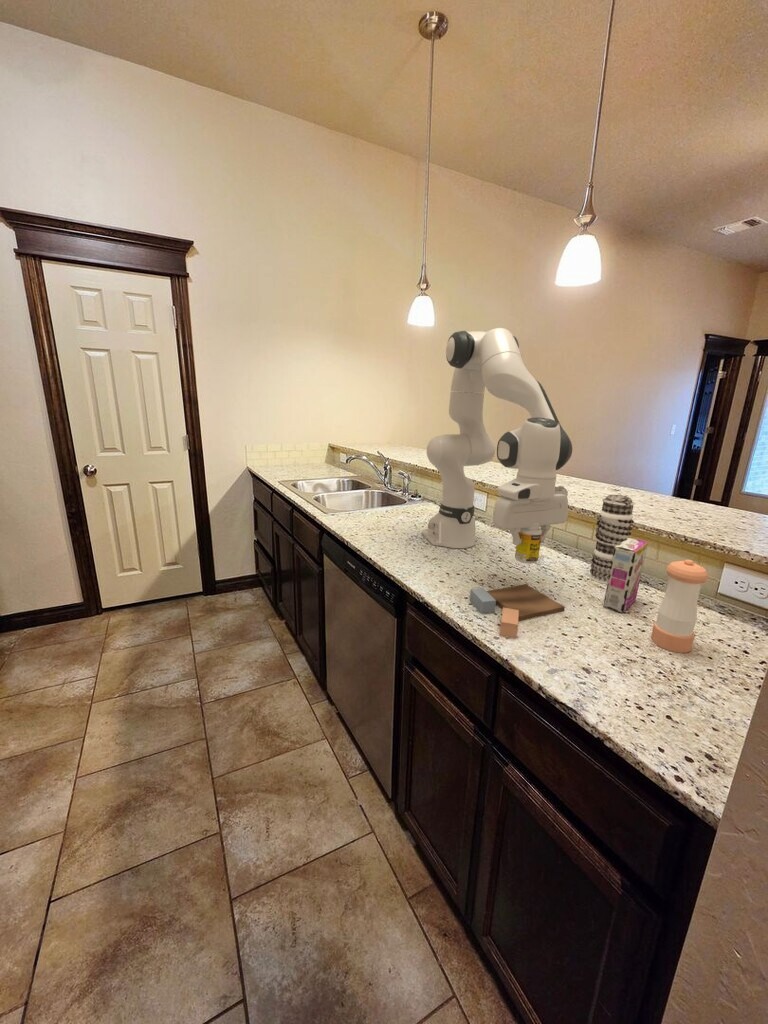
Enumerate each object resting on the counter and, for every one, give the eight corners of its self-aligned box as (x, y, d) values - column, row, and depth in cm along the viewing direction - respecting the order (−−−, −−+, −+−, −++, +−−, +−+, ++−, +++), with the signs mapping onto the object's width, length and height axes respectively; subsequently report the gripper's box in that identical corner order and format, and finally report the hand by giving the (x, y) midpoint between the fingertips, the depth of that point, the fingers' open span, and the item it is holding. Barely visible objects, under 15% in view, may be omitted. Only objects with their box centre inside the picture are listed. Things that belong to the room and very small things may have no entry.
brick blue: (469, 601, 106) (470, 589, 105) (482, 600, 107) (483, 588, 106) (481, 614, 99) (482, 601, 99) (494, 613, 100) (496, 600, 99)
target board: (483, 595, 109) (483, 591, 109) (525, 587, 114) (525, 583, 114) (518, 621, 97) (519, 616, 96) (564, 611, 102) (564, 606, 101)
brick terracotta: (501, 620, 97) (503, 607, 96) (517, 623, 96) (518, 610, 95) (499, 636, 90) (501, 621, 90) (516, 639, 89) (518, 624, 88)
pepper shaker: (683, 657, 84) (704, 569, 79) (644, 640, 90) (662, 558, 85) (696, 645, 88) (717, 562, 83) (659, 630, 94) (676, 551, 89)
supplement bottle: (528, 566, 99) (533, 525, 96) (510, 558, 103) (514, 519, 101) (543, 561, 102) (548, 522, 99) (524, 554, 106) (528, 516, 104)
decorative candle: (622, 576, 123) (637, 495, 117) (623, 588, 116) (639, 501, 109) (588, 570, 128) (601, 491, 121) (587, 580, 120) (600, 497, 113)
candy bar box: (624, 614, 101) (636, 551, 97) (602, 607, 104) (613, 546, 100) (637, 600, 108) (649, 541, 104) (616, 594, 112) (627, 536, 108)
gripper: (558, 483, 104) (551, 535, 108) (491, 487, 97) (486, 543, 100) (578, 488, 99) (570, 542, 102) (509, 493, 91) (503, 551, 95)
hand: (528, 543), depth 101 cm, fingers closed on supplement bottle, 5 cm apart
